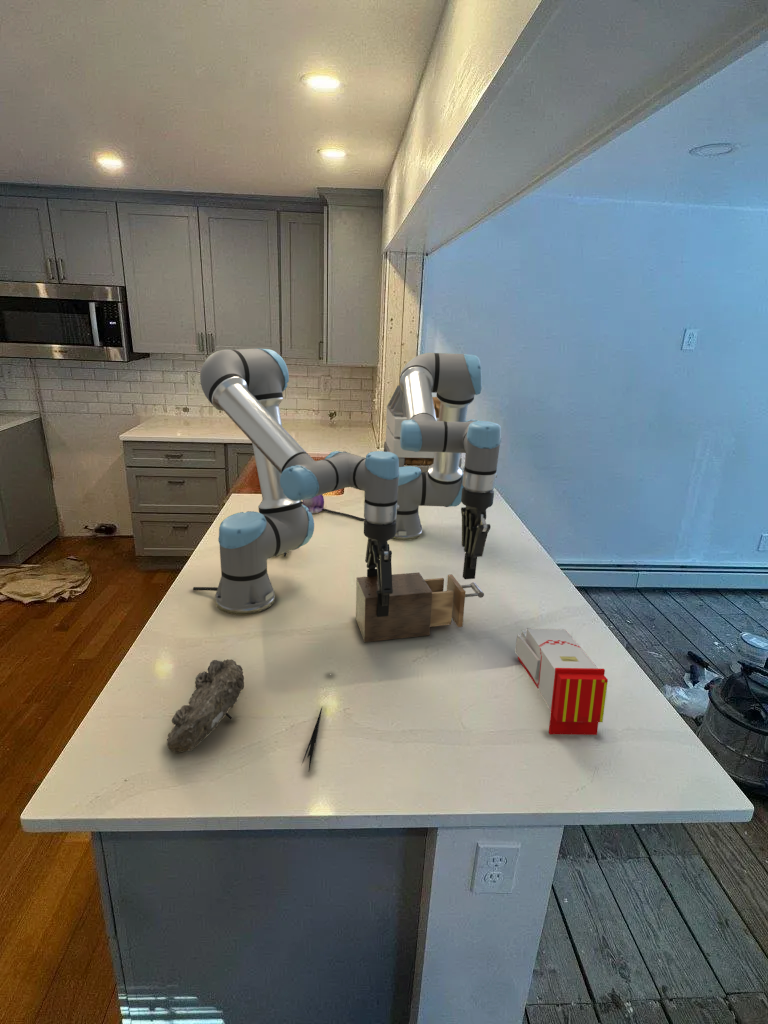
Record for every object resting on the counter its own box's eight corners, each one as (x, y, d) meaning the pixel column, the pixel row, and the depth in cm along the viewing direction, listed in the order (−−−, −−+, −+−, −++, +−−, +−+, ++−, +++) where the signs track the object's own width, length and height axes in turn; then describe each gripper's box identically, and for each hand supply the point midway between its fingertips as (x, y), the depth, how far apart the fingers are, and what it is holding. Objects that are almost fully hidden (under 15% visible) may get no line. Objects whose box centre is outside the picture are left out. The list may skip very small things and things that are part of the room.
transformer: (382, 463, 289) (386, 382, 275) (445, 464, 293) (451, 384, 279) (390, 482, 257) (394, 392, 243) (460, 483, 261) (468, 394, 247)
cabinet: (416, 613, 148) (419, 572, 144) (429, 635, 138) (432, 592, 134) (355, 619, 144) (356, 577, 140) (364, 642, 134) (365, 598, 130)
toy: (561, 612, 132) (617, 675, 103) (556, 665, 135) (608, 741, 106) (510, 611, 132) (551, 674, 102) (505, 664, 134) (544, 741, 105)
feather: (331, 679, 122) (336, 673, 122) (307, 777, 96) (313, 769, 95) (324, 675, 122) (329, 669, 121) (298, 772, 95) (304, 764, 95)
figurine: (305, 516, 212) (305, 477, 207) (296, 507, 221) (296, 470, 216) (329, 512, 216) (329, 475, 211) (319, 504, 225) (319, 468, 220)
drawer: (470, 605, 150) (473, 572, 147) (484, 624, 142) (488, 589, 138) (394, 613, 146) (396, 578, 142) (404, 633, 137) (406, 597, 134)
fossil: (192, 660, 117) (244, 628, 112) (224, 691, 120) (276, 661, 115) (142, 746, 98) (202, 712, 93) (182, 779, 101) (242, 748, 96)
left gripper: (409, 537, 121) (404, 627, 128) (384, 502, 142) (381, 581, 149) (375, 539, 119) (372, 630, 126) (354, 503, 140) (353, 583, 148)
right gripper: (504, 496, 128) (493, 588, 137) (482, 479, 140) (472, 565, 149) (473, 497, 127) (464, 591, 135) (453, 480, 138) (445, 567, 147)
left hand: (377, 603), depth 138 cm, fingers closed on cabinet, 11 cm apart
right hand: (468, 577), depth 142 cm, fingers closed
